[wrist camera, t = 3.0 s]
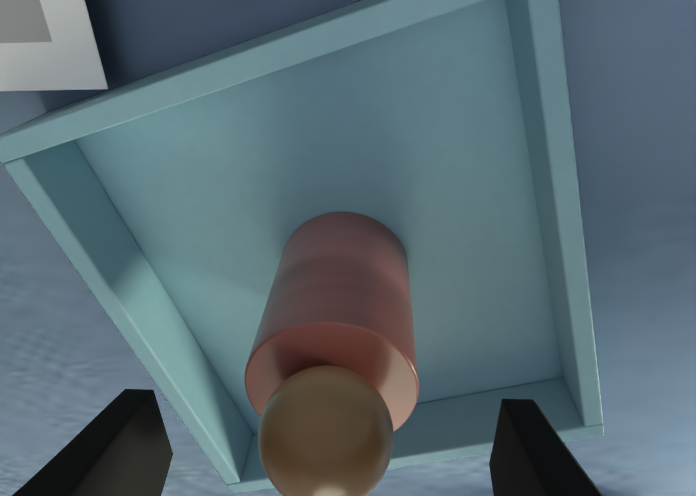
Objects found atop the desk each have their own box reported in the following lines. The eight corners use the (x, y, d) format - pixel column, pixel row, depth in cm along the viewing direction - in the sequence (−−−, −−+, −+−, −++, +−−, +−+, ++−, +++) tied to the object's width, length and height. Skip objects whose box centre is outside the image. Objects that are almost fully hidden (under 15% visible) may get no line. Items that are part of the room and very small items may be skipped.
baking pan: (578, 379, 18) (605, 436, 16) (247, 438, 21) (232, 495, 19) (520, -57, 12) (553, -60, 9) (44, 113, 14) (-15, 141, 12)
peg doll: (421, 302, 16) (451, 544, 10) (307, 327, 17) (261, 567, 11) (388, 195, 15) (395, 404, 8) (262, 230, 15) (171, 445, 9)
